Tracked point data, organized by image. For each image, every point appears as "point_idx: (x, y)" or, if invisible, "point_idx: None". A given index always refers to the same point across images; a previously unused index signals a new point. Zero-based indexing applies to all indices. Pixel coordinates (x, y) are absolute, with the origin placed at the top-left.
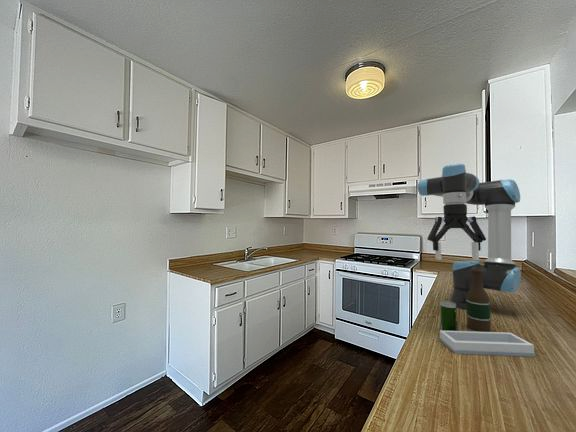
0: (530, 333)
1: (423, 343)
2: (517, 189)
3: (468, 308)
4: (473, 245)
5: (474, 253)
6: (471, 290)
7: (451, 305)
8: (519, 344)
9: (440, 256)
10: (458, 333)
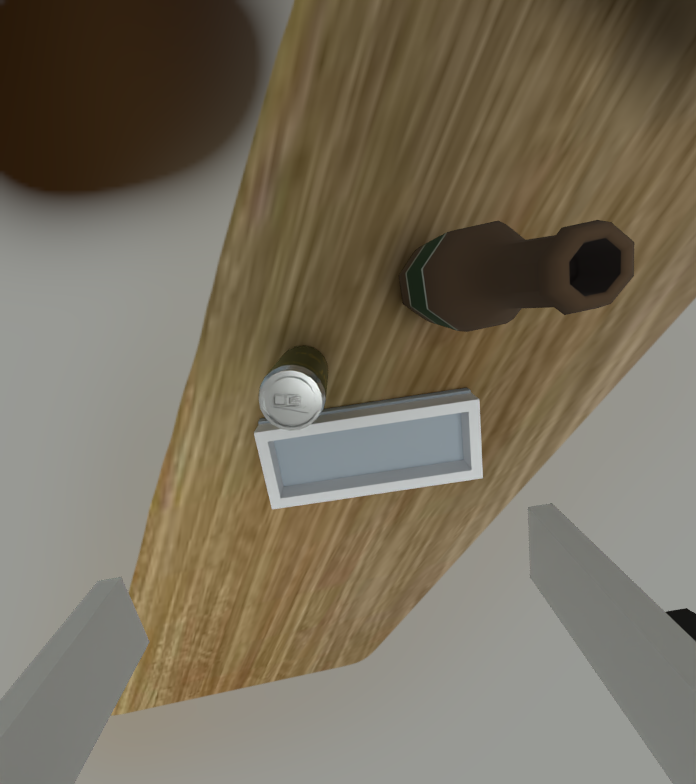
0: None
1: (207, 454)
2: None
3: (415, 285)
4: (692, 740)
5: (576, 606)
6: (460, 287)
7: (295, 429)
8: (445, 483)
9: (120, 681)
10: (311, 433)
